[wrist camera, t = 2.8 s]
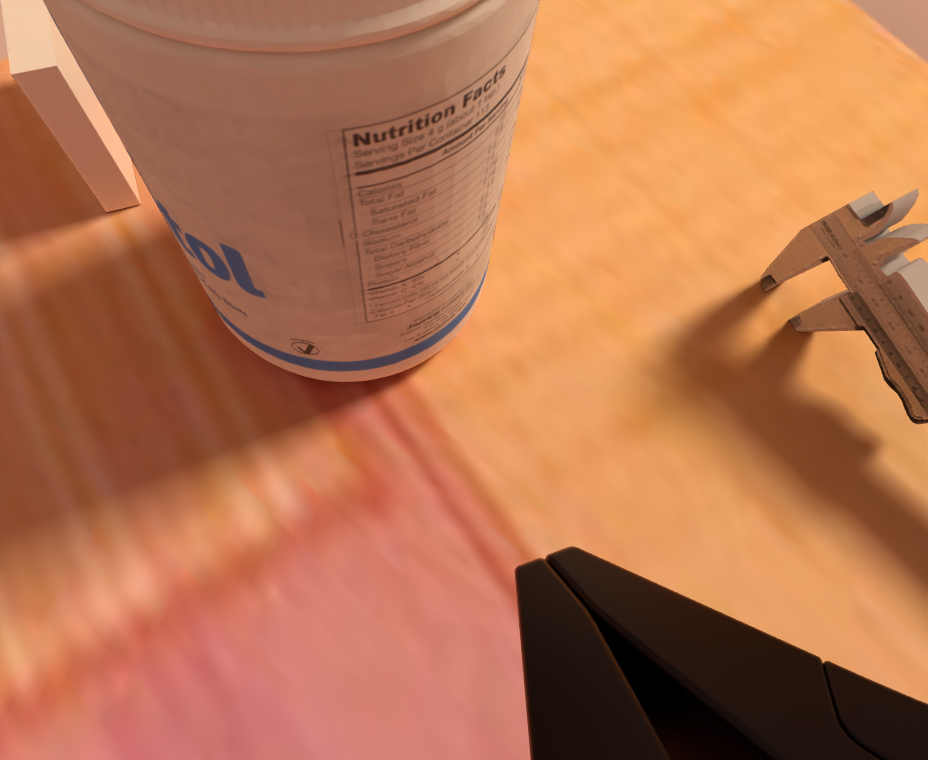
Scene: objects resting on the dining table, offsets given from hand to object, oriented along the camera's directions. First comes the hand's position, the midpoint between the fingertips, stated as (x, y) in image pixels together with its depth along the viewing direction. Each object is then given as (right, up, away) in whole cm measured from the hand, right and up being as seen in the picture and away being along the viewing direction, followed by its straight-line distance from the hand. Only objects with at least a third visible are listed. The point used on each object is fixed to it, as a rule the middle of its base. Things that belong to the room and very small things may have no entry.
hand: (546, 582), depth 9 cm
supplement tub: (-5, +6, +15) cm, 17 cm away
